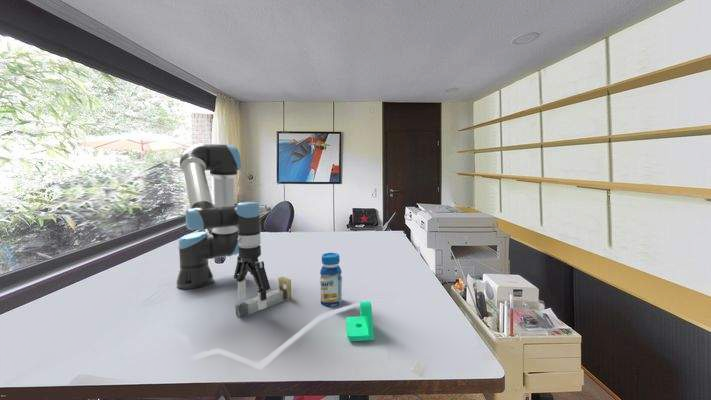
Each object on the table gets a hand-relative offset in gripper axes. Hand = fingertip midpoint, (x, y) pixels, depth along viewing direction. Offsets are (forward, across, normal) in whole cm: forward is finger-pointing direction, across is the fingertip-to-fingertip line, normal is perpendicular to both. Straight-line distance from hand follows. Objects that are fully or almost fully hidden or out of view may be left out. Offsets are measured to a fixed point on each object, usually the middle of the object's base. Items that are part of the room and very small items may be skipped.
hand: (251, 303), depth 106 cm
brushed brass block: (+3, 0, +14) cm, 15 cm away
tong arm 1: (+3, -1, +3) cm, 5 cm away
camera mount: (+5, +38, +15) cm, 41 cm away
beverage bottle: (+4, +17, +24) cm, 29 cm away
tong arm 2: (+3, +1, +3) cm, 5 cm away
